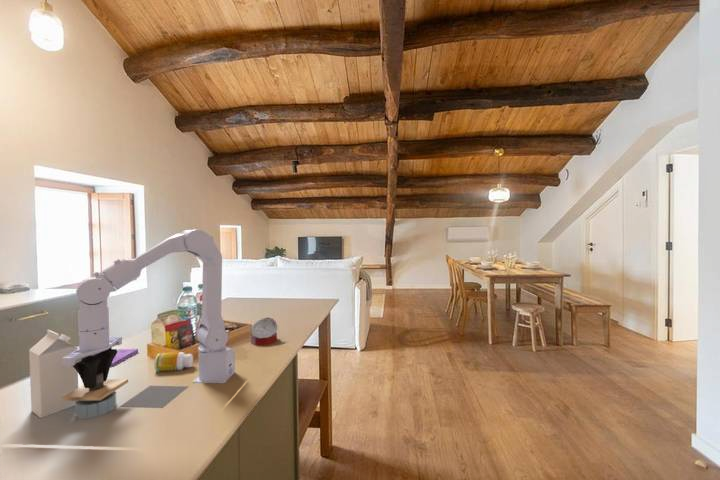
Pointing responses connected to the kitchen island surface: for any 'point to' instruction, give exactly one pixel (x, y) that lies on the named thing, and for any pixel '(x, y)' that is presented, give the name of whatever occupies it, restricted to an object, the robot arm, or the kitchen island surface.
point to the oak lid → (95, 389)
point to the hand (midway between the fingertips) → (96, 384)
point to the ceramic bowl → (95, 406)
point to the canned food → (264, 332)
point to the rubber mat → (155, 396)
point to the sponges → (123, 355)
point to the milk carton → (51, 374)
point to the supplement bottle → (172, 361)
